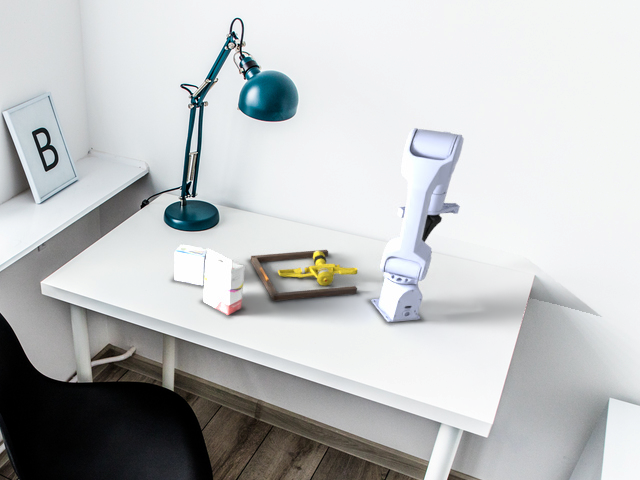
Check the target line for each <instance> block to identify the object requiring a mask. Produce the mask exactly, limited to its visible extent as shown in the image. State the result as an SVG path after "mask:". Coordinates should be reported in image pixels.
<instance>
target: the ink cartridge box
mask: <svg viewBox="0 0 640 480" xmlns="http://www.w3.org/2000/svg"><path fill="white" fill-rule="evenodd" d="M207 249H208V250H207V258H206V264H205V283H204V285H203V303H205V304H207V305H209V306H211V307H212V308H214V309H216V310H217V311H220V312H221V313H223V314H225V315H226V316H230V315H231V314H233V313H235V312H237V311H238V310H241V309H242V301H243V292H244V291H243V290H244V279H245V265H243V264H241V263H239V262H238V261H235V260H234V259H231V258H229V257H226V256H225V255H223V254H220V253H218V252H216V251H214V250H212V249H210V248H207Z"/></svg>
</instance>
